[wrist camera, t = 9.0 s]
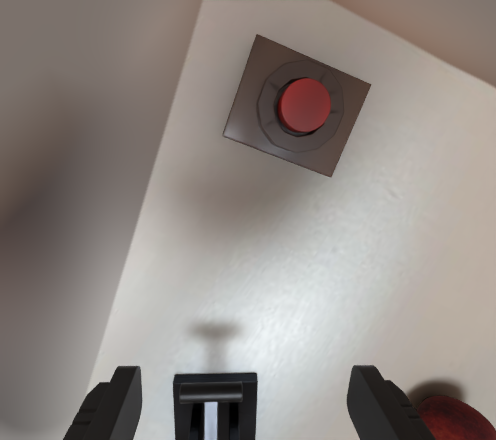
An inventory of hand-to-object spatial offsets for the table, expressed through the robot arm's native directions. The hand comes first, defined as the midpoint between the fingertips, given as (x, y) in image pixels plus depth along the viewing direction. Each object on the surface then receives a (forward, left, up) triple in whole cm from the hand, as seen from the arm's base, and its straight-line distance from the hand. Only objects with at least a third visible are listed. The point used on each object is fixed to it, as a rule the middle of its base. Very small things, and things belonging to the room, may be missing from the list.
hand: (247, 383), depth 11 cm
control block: (-5, +11, -18) cm, 22 cm away
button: (-5, +11, -15) cm, 19 cm away
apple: (+32, +3, -19) cm, 37 cm away
